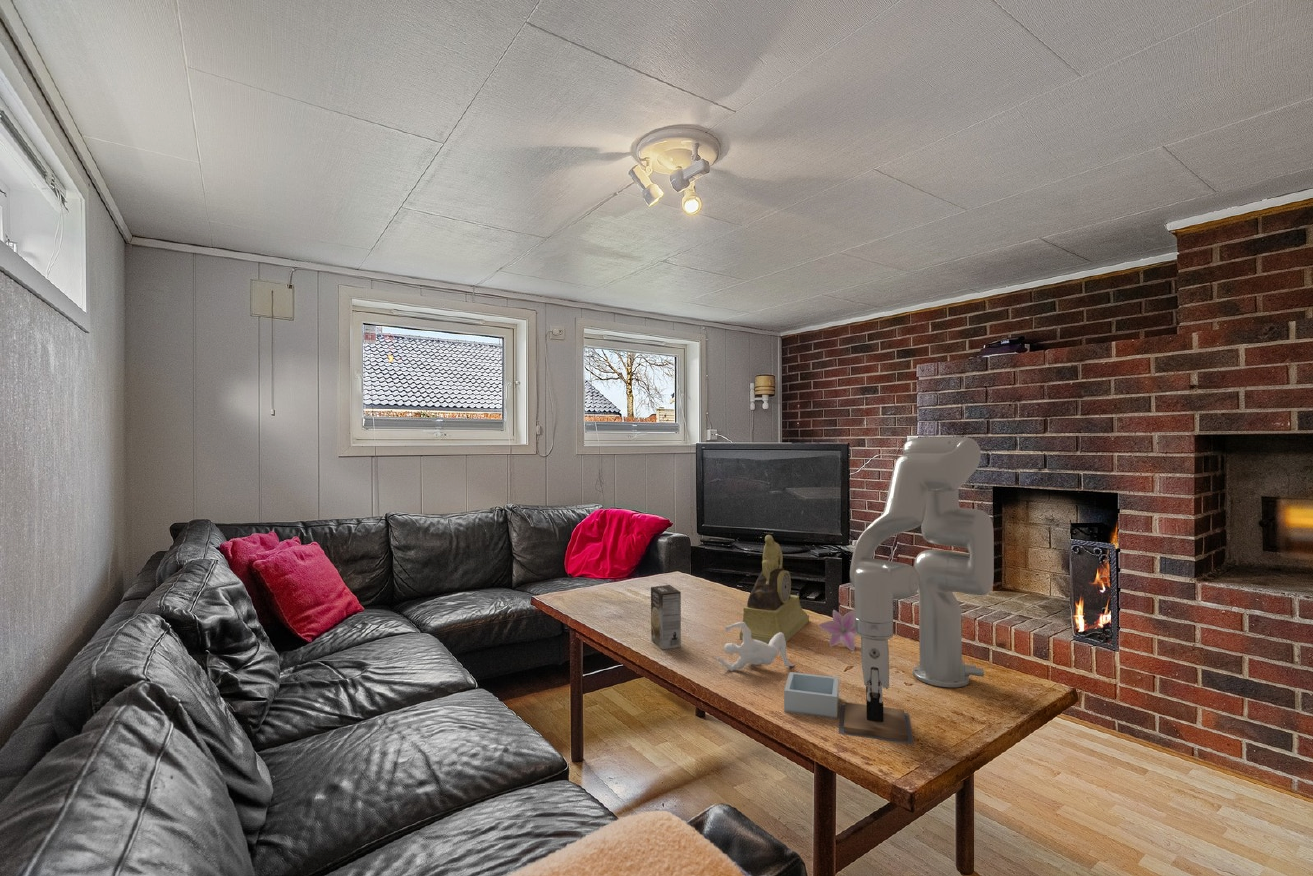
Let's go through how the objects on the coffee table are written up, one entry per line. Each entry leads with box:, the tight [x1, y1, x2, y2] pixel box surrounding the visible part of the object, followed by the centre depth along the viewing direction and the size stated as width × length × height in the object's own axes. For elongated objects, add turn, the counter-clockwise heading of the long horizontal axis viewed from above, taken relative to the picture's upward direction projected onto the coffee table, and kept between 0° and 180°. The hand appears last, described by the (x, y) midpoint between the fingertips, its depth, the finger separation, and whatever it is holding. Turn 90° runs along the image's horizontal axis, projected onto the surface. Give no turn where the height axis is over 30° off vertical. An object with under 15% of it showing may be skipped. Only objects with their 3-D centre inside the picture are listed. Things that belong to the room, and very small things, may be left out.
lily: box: [818, 609, 858, 652], centre depth 175 cm, size 12×12×10 cm
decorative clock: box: [739, 534, 810, 644], centre depth 189 cm, size 28×13×30 cm, turn 150°
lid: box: [844, 691, 908, 741], centre depth 125 cm, size 12×12×6 cm
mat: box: [838, 704, 915, 745], centre depth 125 cm, size 14×14×1 cm
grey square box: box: [783, 671, 840, 720], centre depth 134 cm, size 11×11×5 cm
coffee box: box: [650, 584, 682, 650], centre depth 177 cm, size 9×6×16 cm
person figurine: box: [716, 621, 795, 672], centre depth 156 cm, size 13×13×18 cm
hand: (874, 712), depth 125 cm, fingers open, 6 cm apart
